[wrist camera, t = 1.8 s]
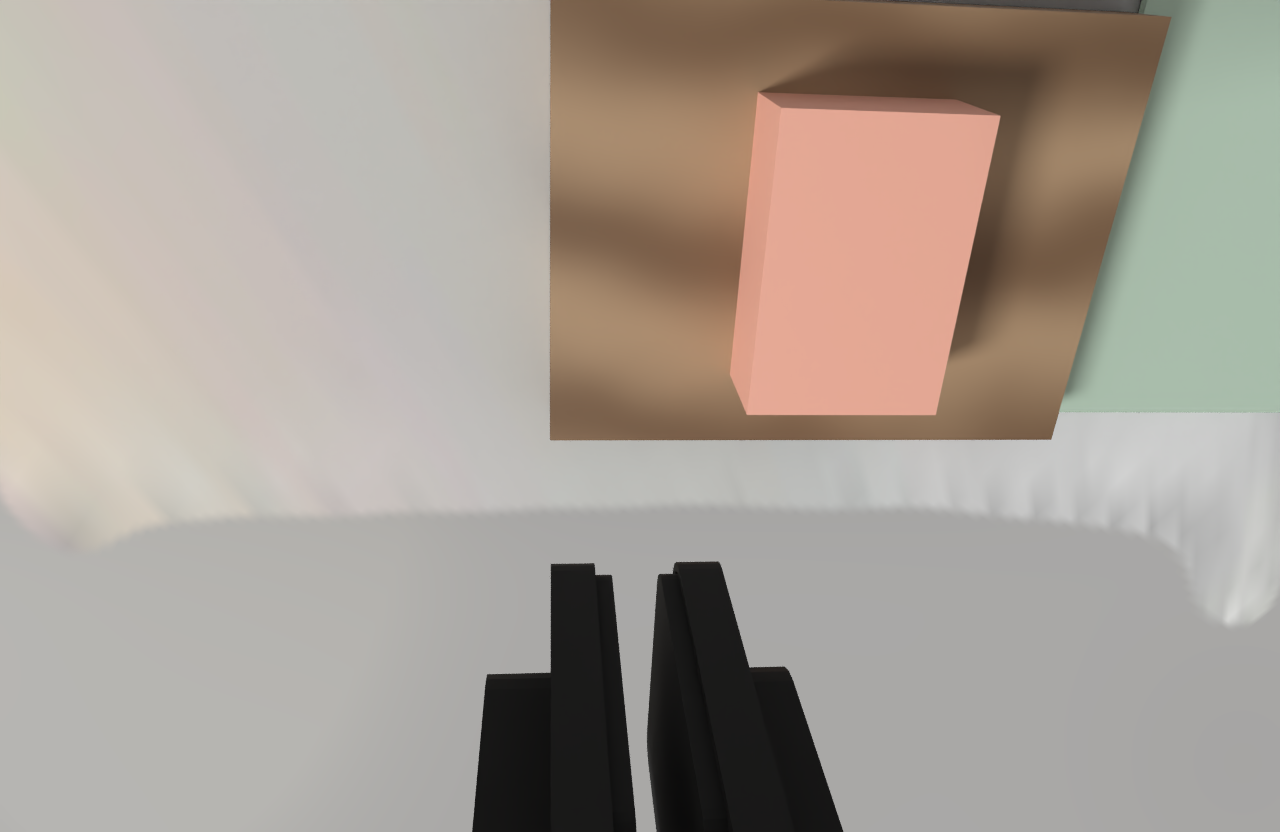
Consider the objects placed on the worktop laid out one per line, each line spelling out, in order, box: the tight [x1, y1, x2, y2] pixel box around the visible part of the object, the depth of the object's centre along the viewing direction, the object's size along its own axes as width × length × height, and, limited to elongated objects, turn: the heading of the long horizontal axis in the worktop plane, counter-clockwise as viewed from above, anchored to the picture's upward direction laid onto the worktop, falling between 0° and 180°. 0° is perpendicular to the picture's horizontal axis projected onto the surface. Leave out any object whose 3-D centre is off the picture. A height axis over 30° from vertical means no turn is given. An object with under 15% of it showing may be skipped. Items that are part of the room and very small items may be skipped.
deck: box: [550, 0, 1171, 440], centre depth 30 cm, size 14×18×2 cm
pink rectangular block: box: [730, 92, 1001, 415], centre depth 27 cm, size 9×6×3 cm, turn 178°
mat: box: [1059, 0, 1280, 413], centre depth 32 cm, size 15×11×1 cm
